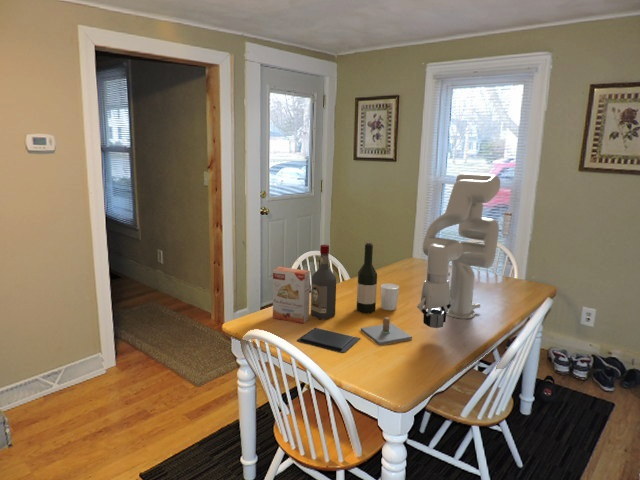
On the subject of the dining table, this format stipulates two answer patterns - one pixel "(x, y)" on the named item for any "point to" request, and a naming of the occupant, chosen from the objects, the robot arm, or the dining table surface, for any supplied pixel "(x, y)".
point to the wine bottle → (367, 283)
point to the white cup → (389, 296)
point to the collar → (436, 318)
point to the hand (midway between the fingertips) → (434, 322)
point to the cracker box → (291, 294)
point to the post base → (386, 333)
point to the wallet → (329, 340)
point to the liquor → (323, 288)
